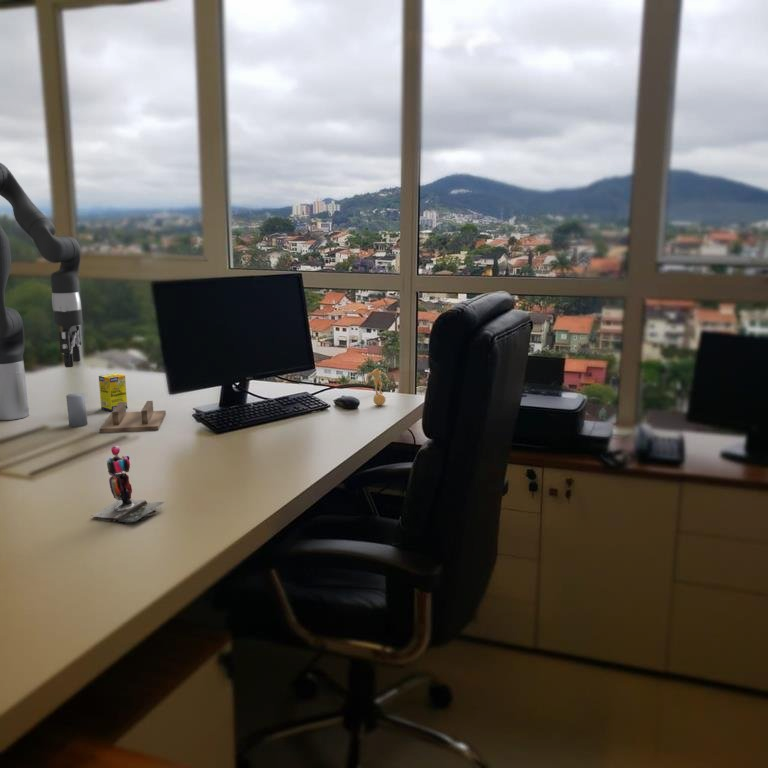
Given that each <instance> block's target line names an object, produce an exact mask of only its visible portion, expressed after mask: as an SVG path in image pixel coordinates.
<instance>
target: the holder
mask: <svg viewBox="0 0 768 768" xmlns="http://www.w3.org/2000/svg"><path fill="white" fill-rule="evenodd" d="M166 412H167V411H166V410H154V401H153V400H147V401H146V402H145V404H144V405H143V407H142V409H141V411H127V408H126V405H125V402H119V404H118V405H117V406H116V408H115V409H114V410H113V411H112V412H111V413H110V414H109V415H108V417H107V418H106V420H104V422H103V423H102V425H101V426H100V427H99V433H100V434H102V433H104V434H105V433H123V432H124V433H125V432H144V431H145V432H147V431H149V432H150V431H159V430H160V428H161V425H162V423H163V421H164V419H165V416H166V415H167V413H166Z"/></svg>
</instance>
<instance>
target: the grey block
mask: <svg viewBox="0 0 768 768" xmlns="http://www.w3.org/2000/svg"><path fill="white" fill-rule="evenodd" d="M65 397H66V406H67V407H66V408H67V419H68V427H70V428H79V427H85V426H87V425H88V416H87V405H86V395H85V393H81V392H74V393H73V392H72V393H67V395H66V396H65Z"/></svg>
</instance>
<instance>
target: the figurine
mask: <svg viewBox="0 0 768 768" xmlns="http://www.w3.org/2000/svg"><path fill="white" fill-rule="evenodd" d="M372 375H373V377H374V379H373V384H374V390H375V394H374V396H373V398H372V399H373V403H374V404H375V405H376V406H382V405H384V404H385V403H386V396H385V395H384V393H383V392H382V388H383V382H382V378H380V376H381V375H384V376H385V378H386V379H387V381H388V382H389V383H390V382H391V381H390V379H389V377H388V376H387V374H386V373H385V372H383V371H382V370H380V369H379V367H377V368H375V369H373V371H371V372H370V373H368V374H367V375H366V379H365V384H366V385H367V384H368V380H369V377H370V376H372ZM378 385H379V388H378ZM378 389H379V390H378ZM378 391H379V393H378Z"/></svg>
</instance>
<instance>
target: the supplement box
mask: <svg viewBox="0 0 768 768" xmlns="http://www.w3.org/2000/svg"><path fill="white" fill-rule="evenodd" d="M98 384H99V385H98V386H99V396H100V397H99V398H100V409H101V410H104V411H108V412H111V413H112V412H113V410H114V409H115V408H116V406H117V405H118V404H119V402H125V405H126V409H128V397H127V396H128V395H127V383H126V375H125V374H120V373H117V372H114V373H109V374H108V373H107V374H102V375H98Z"/></svg>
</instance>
